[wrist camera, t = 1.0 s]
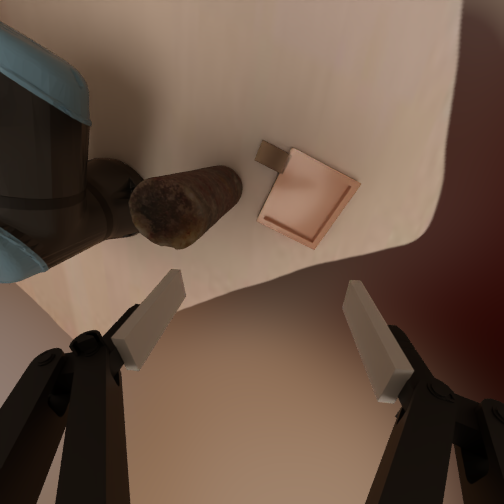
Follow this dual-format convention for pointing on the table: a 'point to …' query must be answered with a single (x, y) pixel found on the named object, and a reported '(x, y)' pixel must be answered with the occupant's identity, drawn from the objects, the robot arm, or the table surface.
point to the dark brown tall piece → (183, 204)
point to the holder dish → (306, 199)
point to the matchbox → (272, 157)
